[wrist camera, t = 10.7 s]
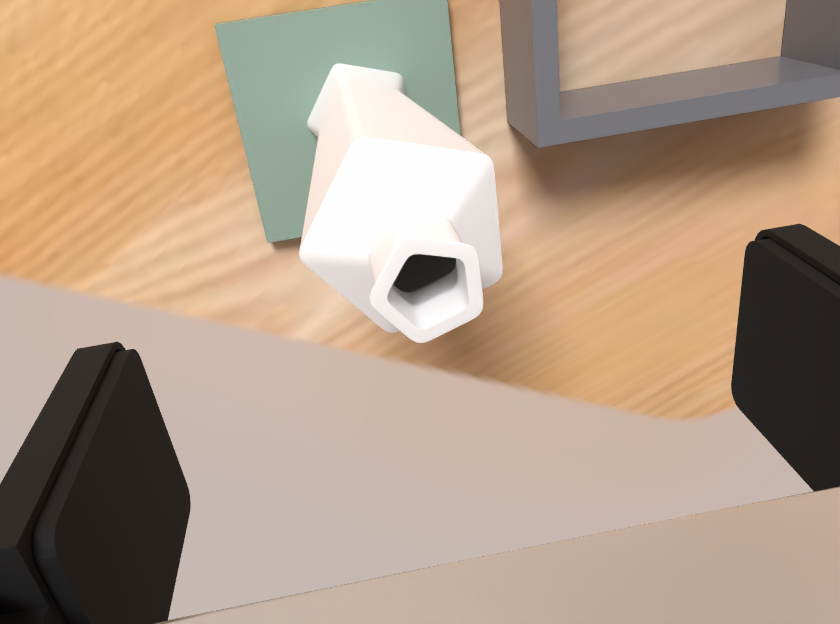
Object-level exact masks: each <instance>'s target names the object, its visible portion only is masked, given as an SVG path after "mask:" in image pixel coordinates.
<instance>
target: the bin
mask: <svg viewBox="0 0 840 624" xmlns="http://www.w3.org/2000/svg"><path fill="white" fill-rule="evenodd" d="M499 2H500V17H501V32H502V48H503V63H504V78H505V93H506V108H507V122H508V123H509V124H511V125H512V126H513V127H514V128H515V129H517V130H518V131H519V132H520V133H521V134H522V135H524V136H525V137H526V138H527V139H528V140H529V141H531V142H532V143H533V144H534V145H535V146H537V147H538V148H540V147H546V146H552V145H558V144H564V143H570V142H576V141H582V140H588V139H593V138H599V137H605V136H611V135H617V134H623V133H629V132H635V131H641V130H647V129H653V128H659V127H665V126H671V125H676V124H682V123H688V122H694V121H700V120H706V119H712V118H718V117H724V116H730V115H736V114H742V113H748V112H753V111H759V110H765V109H771V108H777V107H783V106H789V105H795V104H801V103H807V102H813V101H819V100H825V99H831V98H836V97H840V0H787V6H786V15H785V24H784V33H783V42H782V51H781V56H779V57H773V58H767V59H761V60H754V61H748V62H742V63H736V64H730V65H724V66H718V67H711V68H705V69H699V70H693V71H687V72H681V73H675V74H668V75H662V76H656V77H650V78H644V79H638V80H632V81H625V82H619V83H613V84H607V85H601V86H595V87H589V88H582V89H576V90H570V91H564V92H559V67H558V35H557V3H556V0H499Z"/></svg>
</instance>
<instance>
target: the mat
mask: <svg viewBox="0 0 840 624" xmlns="http://www.w3.org/2000/svg"><path fill="white" fill-rule="evenodd" d="M215 30H216V34H217V38H218V42H219V46H220V50H221V54H222V58H223V62H224V66H225V71H226V75H227V79H228V83H229V87H230V91H231V95H232V99H233V103H234V107H235V112H236V116H237V120H238V124H239V128H240V132H241V136H242V140H243V144H244V148H245V153H246V157H247V161H248V165H249V169H250V173H251V177H252V181H253V185H254V189H255V194H256V198H257V202H258V206H259V210H260V214H261V218H262V222H263V226H264V230H265V235H266V239H267V243H271V242H276V241H282V240H288V239H294V238H299V237H302V233H303V227H304V221H305V215H306V209H307V202H308V196H309V190H310V184H311V178H312V172H313V166H314V160H315V154H316V148H317V142H318V137H317V136H316V135H314V134H313V133H312V132H311V131H310V129H309V128H308V126H307V121H308V118H309V116H310V114H311V112H312V110H313V107H314V105H315V103H316V101H317V99H318V96H319V94H320V92H321V90H322V88H323V86H324V83H325V81H326V79H327V77H328V75H329V73H330V70H331V69H332V67H333V66H334V65H335V64H339V63H342V64H348V65H354V66H360V67H366V68H372V69H378V70H384V71H390V72H396V73H399V74H400V75H401V76H402V77H403V80H404V85H405V93H406V96H407V97H408V98H409V99H411V100H412V101H413V102H415V103H416V104H418V105H419V106H420V107H422V108H423V109H424V110H426V111H427V112H429V113H430V114H431V115H433V116H434V117H435V118H437V119H438V120H439V121H441V122H442V123H444V124H445V125H446V126H448V127H449V128H450V129H452V130H453V131H455V132H456V133H457V134H459V135H460V126H459V115H458V105H457V95H456V85H455V74H454V64H453V54H452V44H451V34H450V23H449V13H448V3H447V0H370V1H364V2H357V3H350V4H344V5H337V6H330V7H324V8H317V9H310V10H303V11H297V12H290V13H283V14H277V15H270V16H263V17H257V18H250V19H243V20H236V21H230V22H223V23H216V24H215Z"/></svg>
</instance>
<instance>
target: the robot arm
mask: <svg viewBox="0 0 840 624" xmlns="http://www.w3.org/2000/svg"><path fill="white" fill-rule="evenodd" d="M731 389H732V395H733V398H734V401H735V403H736V405H737V406H738V408H739V409H740V410H741V411H742V412H743V413H744V415H745V416H746V417H747V418H748V419H749V420H750V421H751V422H752V423H753V425H754V426H755V427H756V428H757V429H758V430H759V431H760V432H761V433H762V435H763V436H764V437H765V438H766V439H767V440H768V441H769V442H770V443H771V444H772V445H773V447H774V448H775V449H776V450H777V451H778V452H779V453H780V454H781V455H782V457H783V458H784V459H785V460H786V461H787V462H788V463H789V464H790V465H791V467H793V469H794V470H795V471H796V472H797V473H798V474H799V475H800V477H801V478H802V479H803V480H804V481H805V482H806V483H807V484H808V485H809V486H810V488H811V489H812V490H813V491H814V492H809V493H804V494H798V495H793V496H788V497H783V498H778V499H773V500H767V501H763V502H757V503H752V504H747V505H742V506H737V507H732V508H727V509H721V510H716V511H711V512H706V513H700V514H695V515H691V516H685V517H680V518H675V519H670V520H665V521H659V522H655V523H649V524H644V525H639V526H634V527H629V528H624V529H619V530H614V531H609V532H604V533H599V534H593V535H588V536H583V537H578V538H573V539H568V540H563V541H558V542H553V543H548V544H543V545H539V546H533V547H528V548H524V549H518V550H513V551H508V552H503V553H498V554H493V555H488V556H483V557H478V558H473V559H468V560H463V561H458V562H453V563H448V564H443V565H438V566H433V567H428V568H423V569H418V570H413V571H408V572H403V573H398V574H394V575H389V576H383V577H378V578H374V579H369V580H364V581H360V582H354V583H350V584H344V585H340V586H335V587H330V588H325V589H320V590H315V591H310V592H305V593H300V594H295V595H291V596H285V597H280V598H276V599H271V600H266V601H261V602H256V603H251V604H246V605H241V606H236V607H231V608H226V609H221V610H216V611H211V612H207V613H202V614H197V615H192V616H187V617H182V618H177V619H172V620H168V616H169V611H170V606H171V601H172V597H173V592H174V586H175V582H176V577H177V572H178V568H179V563H180V557H181V553H182V548H183V543H184V538H185V534H186V528H187V524H188V518H189V514H190V494H189V489H188V486H187V483H186V480H185V477H184V475H183V472H182V469H181V467H180V464H179V461H178V459H177V456H176V453H175V450H174V448H173V445H172V442H171V439H170V437H169V434H168V431H167V429H166V426H165V423H164V420H163V418H162V415H161V412H160V410H159V407H158V404H157V401H156V399H155V396H154V393H153V390H152V388H151V385H150V382H149V380H148V377H147V374H146V371H145V369H144V366H143V363H142V361H141V358H140V356H139V354H138V352H137V351H136V350H134V349H130V350H125V348H124V347H123V346H122V344H121V343H119V342H114V343H108V344H102V345H97V346H91V347H86V348H79V349H77V350H76V351H75V352H74V354H73V356H72V357H71V359H70V361H69V363H68V364H67V366H66V368H65V370H64V372H63V373H62V375H61V377H60V379H59V380H58V382H57V384H56V386H55V387H54V390H53V391H52V393H51V395H50V397H49V398H48V400H47V402H46V404H45V405H44V407H43V409H42V411H41V412H40V414H39V416H38V418H37V420H36V421H35V423H34V425H33V427H32V428H31V430H30V432H29V434H28V436H27V437H26V439H25V441H24V443H23V445H22V446H21V448H20V450H19V452H18V453H17V455H16V457H15V459H14V461H13V462H12V464H11V466H10V468H9V470H8V471H7V473H6V475H5V477H4V478H3V480H2V482H1V484H0V624H840V246H839V245H837V244H835V243H834V242H832V241H830V240H828V239H827V238H825V237H823V236H822V235H820V234H818V233H817V232H815V231H813V230H811V229H810V228H808V227H806V226H805V225H802V224H795V225H790V226H784V227H778V228H772V229H767V230H762V231H760V232H759V233H758V234H757V236H756V238H755V241H751V242H750V243H749V244H748V245H747V247H746V250H745V257H744V267H743V276H742V286H741V296H740V306H739V315H738V325H737V335H736V344H735V354H734V364H733V373H732V383H731Z"/></svg>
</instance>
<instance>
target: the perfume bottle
mask: <svg viewBox="0 0 840 624" xmlns="http://www.w3.org/2000/svg"><path fill="white" fill-rule="evenodd" d="M307 126H308V128H309V129H310V131H311V132H312V133H313V134H314V135H316V136H317V137H318V142H317V148H316V154H315V160H314V166H313V172H312V178H311V184H310V190H309V196H308V202H307V209H306V215H305V221H304V227H303V233H302V239H301V245H300V251H299V255H300V259H301V261H302V262H303V263H304V264H305V265H306V266H307V267H308V268H310V269H311V270H312V271H313V272H314V273H316V274H317V275H318V276H319V277H320V278H322V279H323V280H324V281H325V282H326V283H328V284H329V285H330V286H331V287H333V288H334V289H335V290H336V291H337V292H339V293H340V294H341V295H342V296H343V297H345V298H346V299H347V300H348V301H349V302H351V303H352V304H353V305H354V306H355V307H357V308H358V309H359V310H360V311H361V312H363V313H364V314H365V315H366V316H367V317H369V318H370V319H371V320H372V321H373V322H375V323H376V324H377V325H378V326H380V327H381V328H382V329H383V330H385V331H387V332H390V333H395V332H398V331H400V332H402V333H403V334H404V335H405V336H406V337H408V338H409V339H410V340H412V341H414V342H416V343H425V342H428V341H430V340H432V339H434V338H436V337H438V336H441V335H443V334H445V333H447V332H449V331H451V330H453V329H455V328H457V327H459V326H461V325H463V324H465V323H467V322H469V321H471V320H473V319H474V318H475V317H477V316H478V315H479V314H480V313H481V311H482V309H483V302H484V301H483V291H482V290H483V289H485V288H487V287H489V286H491V285H493V284H494V283H496V282H497V281H499V279H500V278H501V276H502V271H503V266H502V254H501V242H500V231H499V219H498V207H497V195H496V184H495V172H494V165H493V161H492V160H491V159H490V157H489V156H488V155H486V154H485V153H483V152H482V151H481V150H479V149H478V148H477V147H475V146H474V145H472V144H471V143H470V142H468V141H467V140H466V139H464V138H463V137H461V136H460V135H459V134H457V133H456V132H455V131H453V130H452V129H450V128H449V127H448V126H446V125H445V124H444V123H442V122H441V121H439V120H438V119H437V118H435V117H434V116H433V115H431V114H430V113H429V112H427V111H426V110H424V109H423V108H422V107H420V106H419V105H418V104H416V103H415V102H413V101H412V100H411V99H409V98H408V97H407V96H406V93H405V85H404V80H403V77H402V76H401V75H400V74H399V73H396V72H390V71H384V70H378V69H372V68H366V67H360V66H354V65H348V64H342V63H339V64H335V65H334V66H333V67H332V69H331V70H330V73H329V75H328V77H327V79H326V81H325V83H324V86H323V88H322V90H321V92H320V94H319V96H318V99H317V101H316V103H315V105H314V107H313V110H312V112H311V114H310V116H309V118H308V121H307Z"/></svg>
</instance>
